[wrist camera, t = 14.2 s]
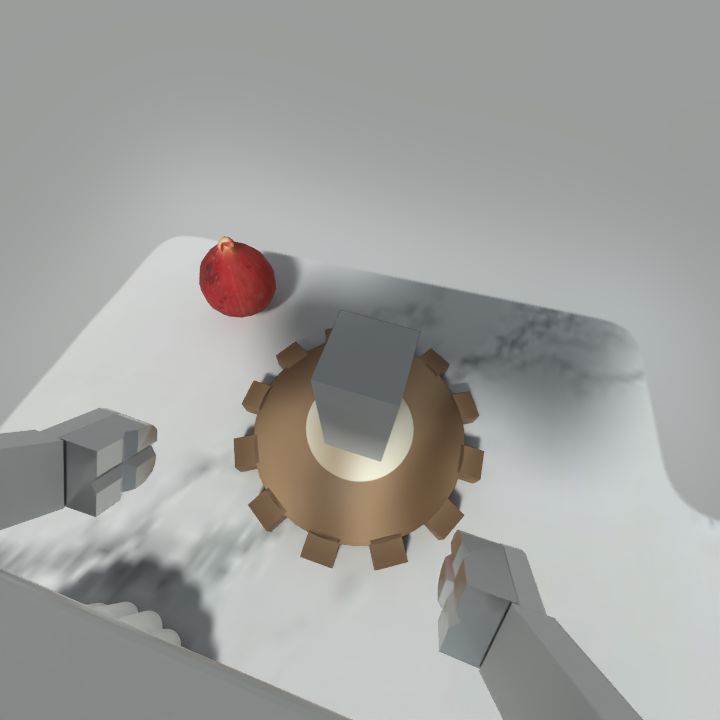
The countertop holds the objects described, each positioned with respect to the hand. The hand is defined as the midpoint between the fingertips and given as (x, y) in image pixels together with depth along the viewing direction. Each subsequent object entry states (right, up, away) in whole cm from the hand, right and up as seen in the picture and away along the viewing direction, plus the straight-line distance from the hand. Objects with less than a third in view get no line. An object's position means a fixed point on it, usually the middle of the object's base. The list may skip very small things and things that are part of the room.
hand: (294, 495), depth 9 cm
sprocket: (+2, -2, +17) cm, 18 cm away
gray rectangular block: (+2, -1, +16) cm, 16 cm away
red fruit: (-8, +8, +23) cm, 26 cm away
